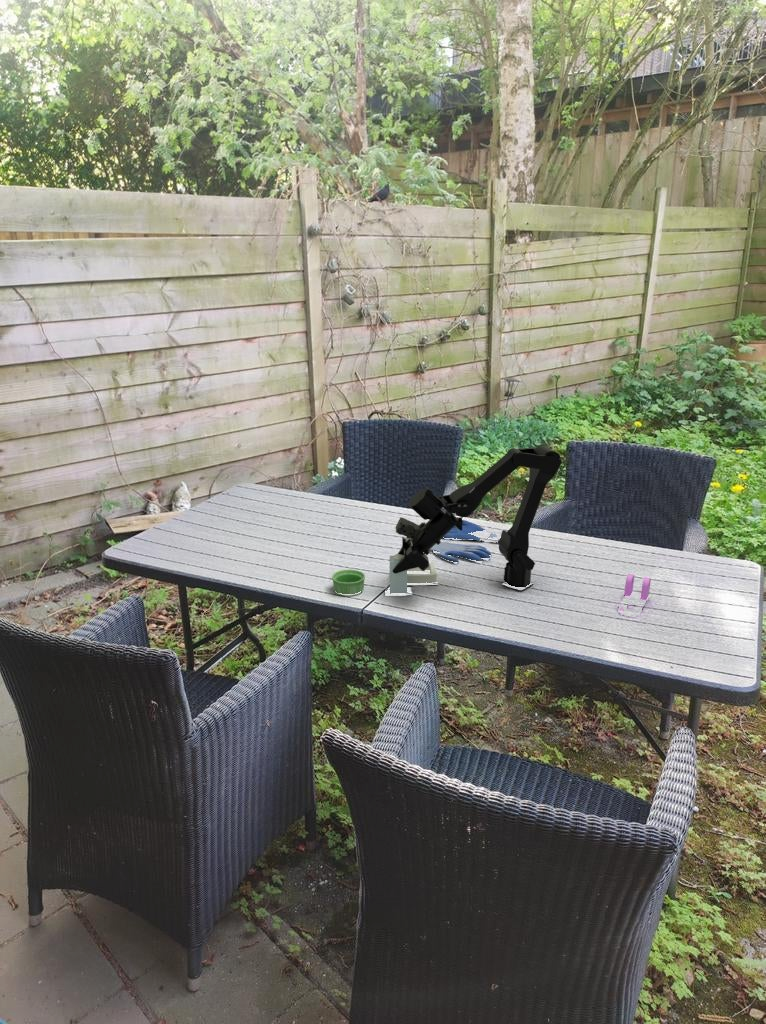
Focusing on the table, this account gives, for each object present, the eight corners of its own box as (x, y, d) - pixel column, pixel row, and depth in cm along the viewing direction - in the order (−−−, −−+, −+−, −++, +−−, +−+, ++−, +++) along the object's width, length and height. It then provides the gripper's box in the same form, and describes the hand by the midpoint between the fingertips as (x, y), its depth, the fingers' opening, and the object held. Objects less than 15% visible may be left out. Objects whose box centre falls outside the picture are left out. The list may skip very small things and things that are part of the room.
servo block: (411, 589, 194) (411, 552, 191) (412, 596, 190) (413, 559, 186) (384, 589, 194) (384, 552, 190) (384, 596, 190) (384, 559, 186)
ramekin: (328, 586, 196) (327, 572, 195) (359, 581, 199) (358, 567, 198) (337, 600, 188) (337, 584, 187) (369, 594, 191) (369, 579, 190)
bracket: (626, 595, 190) (629, 571, 188) (648, 600, 188) (651, 575, 186) (614, 614, 180) (617, 589, 178) (637, 619, 177) (640, 594, 175)
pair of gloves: (480, 571, 206) (481, 560, 205) (402, 555, 218) (402, 544, 217) (516, 537, 233) (517, 526, 232) (445, 524, 244) (445, 514, 243)
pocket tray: (435, 570, 206) (435, 557, 204) (438, 585, 196) (439, 572, 195) (390, 571, 205) (390, 558, 204) (391, 586, 196) (391, 573, 194)
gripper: (411, 498, 193) (371, 536, 196) (416, 521, 175) (372, 563, 179) (439, 525, 196) (399, 562, 199) (447, 550, 178) (403, 591, 181)
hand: (393, 568), depth 190 cm, fingers closed on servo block, 4 cm apart
